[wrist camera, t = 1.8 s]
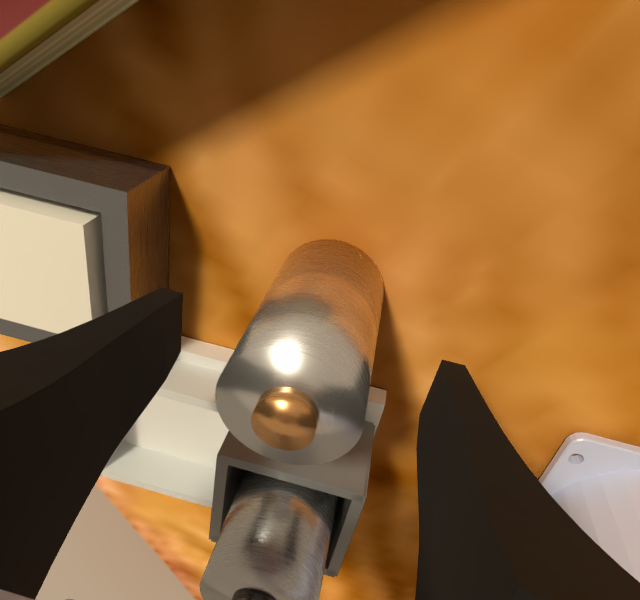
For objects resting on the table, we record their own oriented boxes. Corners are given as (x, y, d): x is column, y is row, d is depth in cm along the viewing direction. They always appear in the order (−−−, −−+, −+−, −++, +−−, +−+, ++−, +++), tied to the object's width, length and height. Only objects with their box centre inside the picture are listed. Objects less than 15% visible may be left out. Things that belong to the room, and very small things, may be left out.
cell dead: (335, 489, 20) (301, 665, 15) (253, 466, 21) (190, 631, 15) (353, 431, 18) (322, 608, 13) (263, 406, 19) (195, 570, 13)
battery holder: (348, 503, 22) (333, 592, 19) (124, 439, 23) (71, 514, 19) (386, 390, 18) (377, 476, 15) (117, 318, 19) (50, 385, 16)
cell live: (370, 343, 17) (343, 497, 12) (273, 317, 18) (203, 457, 12) (396, 255, 15) (379, 389, 10) (287, 227, 16) (211, 344, 10)
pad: (111, 326, 16) (94, 343, 16) (-3, 295, 17) (-26, 311, 16) (103, 212, 14) (83, 225, 13) (-29, 179, 14) (-56, 189, 14)
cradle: (168, 327, 19) (133, 370, 16) (-23, 277, 19) (-81, 311, 17) (169, 166, 15) (126, 192, 13) (-63, 110, 16) (-142, 125, 14)
